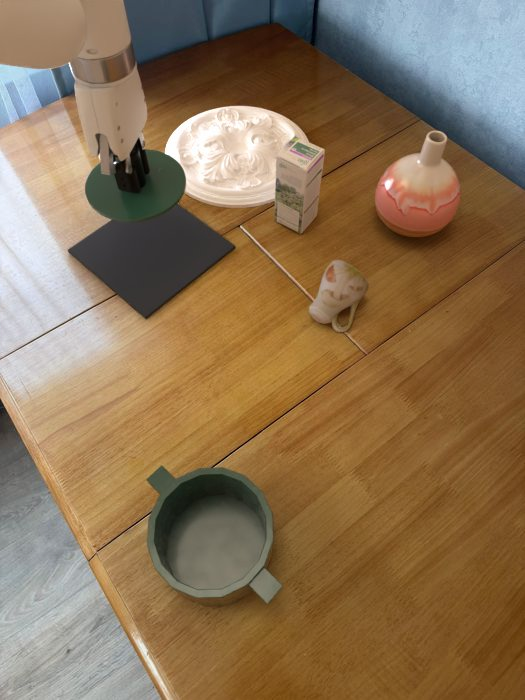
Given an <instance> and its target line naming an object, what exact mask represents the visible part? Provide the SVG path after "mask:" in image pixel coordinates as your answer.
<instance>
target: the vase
mask: <svg viewBox="0 0 525 700" xmlns="http://www.w3.org/2000/svg"><path fill="white" fill-rule="evenodd" d="M447 141H448V136H447V135H446V133H444V132H443V131H441V130H430V131H429V132H428V133H427V134H426V136H425V138H424V141H423V145H422V147H421V151H420V152H415V153H410V154H408V155H405V156H402V157H400V158H399V159H397V160H395V161H394V162H393V163H391V165H389V166H388V167H387V168H386V169H385V170H384V172H383V173H382V174H381V177H380V179H379V180H378V183H377V185H376V189H375V193H374V205H375V210H376V212H377V213H376V214H377V216H378V217H379V218H380V220H381V222H382V223H383V225H385V226H386V227H387V228H388V229H389V230H391V231H392V232H394V233H396V234H398V235H401V236H404V237H407V238H425V237H428V236H431V235H435V234H436V233H438V232H440V231H442V230H443V229H445V228H446V227H447V226H448V225H449V224H450V223H451V221H452V220H453V219H454V217H455V216H456V214H457V211H458V209H459V206H460V202H461V194H462V192H461V184H460V179H459V177H458V175H457V173H456V171H455V169H454V168H453V167H452V165H451V164H449V162H447V160H445V159H444V158H443V154H444V151H445V148H446V145H447Z"/></svg>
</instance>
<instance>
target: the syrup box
mask: <svg viewBox="0 0 525 700" xmlns="http://www.w3.org/2000/svg"><path fill="white" fill-rule="evenodd" d="M325 152H326V149H324V148H322V147H320V146H318V145H316V144H313V143H311V142H310V141H309V142H307V141H304V140H302V139H300V138H298V137H296V136H295V137H293V138H292V139H291V140H290V141H289V142H288V143H287V144H286V145H285V146H284V147H283V148H282V149H281V150H280V151H279V153H278V154H277V155H276V183H275V201H274V222H275V223H277V224H280V225H281V226H283V227H286V228H287V229H289V230H291V231H293V232H295V233H297V234H299V235H301V234H303V233H304V231H305V230H306V229H307V228H308V227H309V226H310V225H311V223H312V222H313V221H314V220H315V218H316V217H317V216H318V211H319V201H320V200H319V199H320V198H319V197H320V192H321V183H322V176H323V170H324V162H325Z"/></svg>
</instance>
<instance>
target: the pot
mask: <svg viewBox="0 0 525 700" xmlns="http://www.w3.org/2000/svg"><path fill="white" fill-rule="evenodd" d="M145 481H146V482H147V484H149V485H150V486H151V488H153V490H154V491H155V492H156V493H157V494H158V497H157V499H156V502H155V504H154V506H153V508H152V509H151V512H150V515H149V516H148V520H147V534H146V535H147V536H146V547H147V549H148V553H149V556H150V558H151V561H152V564H153V569H154V570H155V571H156V572H157V573H158V574H159V576H160V577H161V578H162V579H163V580H164V581H165V582H166V583H167V584H168V585H169V586H170V587H171V589H172V590H173V591H175V592H176V593H177V594H179V595H180V596H181V597H182V598H184V599H187V600H189V601H191V602H194V603H196V604H198V605H201V606H203V607H219V606H228V605H231V604H233V603H235V602H238V601H240V600H241V599H243V598H245V597H247V596H249V595H250V594H251V593H252V592H254V594H256V595H257V596H258V597H259V598H260V599H261V600H262V602H263V603H264V604H265V605H269V604H270V603H271V601H272V600H273V599H274V598H275V597H276V595H278V594H279V592H280V591H281V590H282V589H283V586H284V585H283V584H282V583H281V582H280V581H279V580H278V579H277V578H276V577H275V576H274V575H273V574H272V573H271V572H270V571H269V570H268V567H269V565H270V562H271V559H272V556H273V551H274V550H273V549H274V540H275V535H274V533H275V532H274V514H273V511H272V509H271V507H270V505H269V503H268V500H267V498H266V496H265V494H264V492H263V490H261V488H259V487H258V486H257V485H256V484H255V483H254V482H253V481H252V480H251V479H250V478H249V477H248V476H246V475H245V474H242V473H240V472H237V471H234V470H232V469H229V468H226V467H223V466H222V467H221V466H220V467H199V468H196V469H194V470H192V471H190V472H186V473H184V474H182V475H181V476H178V477H177V478H176V477H174V476H173V475H172V474H171V472H170V471H168V470H167V469H166V468H165V467H164V466H163V465H160V466H159V467H158V468H157V469H155V471H153V472H152V473H151V474H150V475H149V476H148V477H146V479H145Z"/></svg>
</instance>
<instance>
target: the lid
mask: <svg viewBox="0 0 525 700" xmlns="http://www.w3.org/2000/svg"><path fill="white" fill-rule="evenodd" d="M143 150H145V151H146V155H147V160H148V164H149V168H150V172H149V174H147V175H146V174H145V172H144V168H143V164H142V160H141V155H140V151H139V148H138V146H137V145H134V147H133V149H132V151H131V152H130V159H131V164H132V168H134V169H136V173H137V177H138V181H139V185H140V189H141V190H140V192H139V193H132V192H126V191H121V190H119V189H118V186H117V182H116V179H115V176H114V174H113V175H105V174H102V173H101V165H100V162H99V163H97V164H96V165H95V166H94V167H93V168H92V169H91V171H90V172H89V174H88V176H87V177H86V181H85V183H84V193H85V197H86V200H87V202H88V204H89V205H90V207H91V208H92V209H93V210H94V211H95V212H96V213H97V214H99V215H100V216H102V217H104V218H106V219H109V220H110V221H111V220H115V221H120V222H141V221H146V220H150V219H153V218H156V217H159V216H161V215H163V214H165V213H166V212H168V211H169V210H171V209H172V208H173V207H174V206H175V205H176V204H177V203H178V204H179V203H180V202H181V200H182V198H183V197H184V194H185V193H184V192H185V189H186V176H185V172H184V170H183V168H182V166H181V165H180V164H179V163H178V162H177V161H176V160H175V159H174V158H173V157H171V156H169V155H167V154H165V152H162V151H159V150H155V149H150V148H149V149H148V148H144V149H143ZM115 159H116V162H119V163H123V161H120V160H119V159H118V157H115ZM123 164H124V163H123Z"/></svg>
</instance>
